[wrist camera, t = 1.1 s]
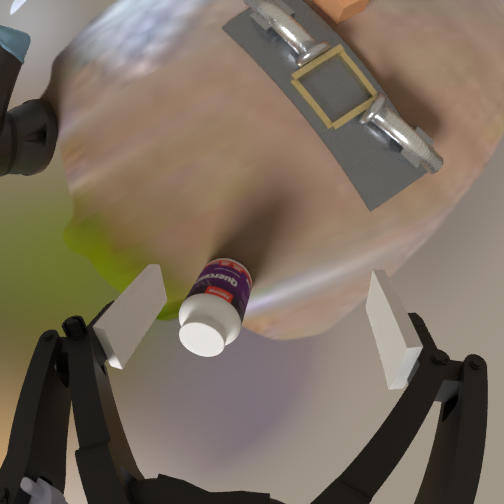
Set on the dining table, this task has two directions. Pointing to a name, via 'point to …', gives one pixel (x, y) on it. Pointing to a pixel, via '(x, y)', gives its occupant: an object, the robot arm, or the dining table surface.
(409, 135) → the shaft
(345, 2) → the block
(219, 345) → the pill bottle
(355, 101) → the board
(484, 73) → the dining table surface
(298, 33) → the shaft
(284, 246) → the dining table surface
